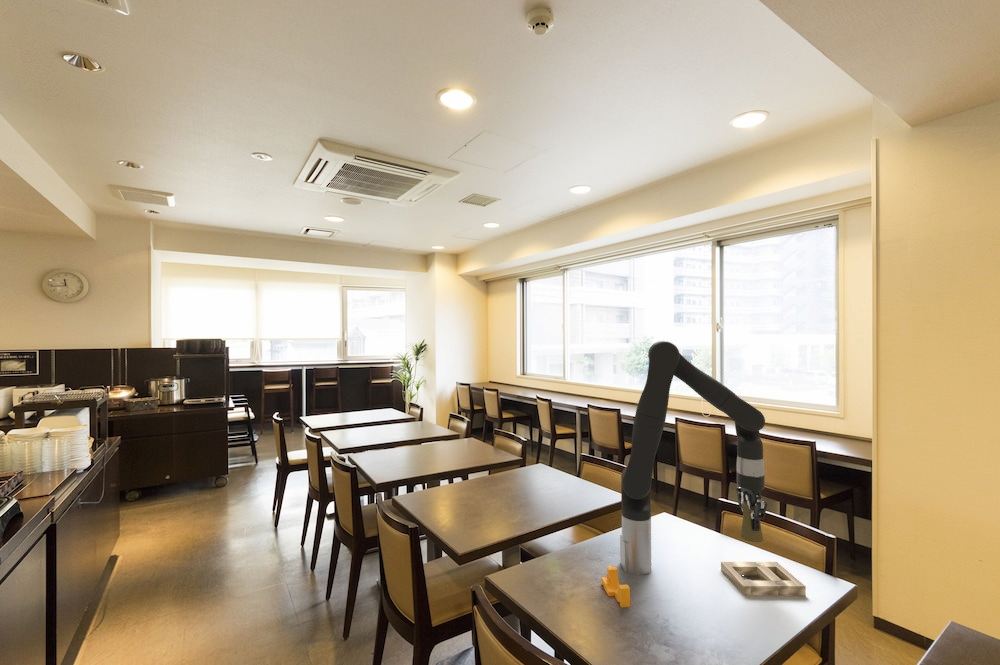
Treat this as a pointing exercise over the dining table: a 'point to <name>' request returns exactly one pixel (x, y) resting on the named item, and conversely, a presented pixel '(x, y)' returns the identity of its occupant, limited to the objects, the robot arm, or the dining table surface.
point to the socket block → (763, 579)
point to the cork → (749, 526)
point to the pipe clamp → (616, 587)
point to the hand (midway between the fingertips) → (751, 527)
